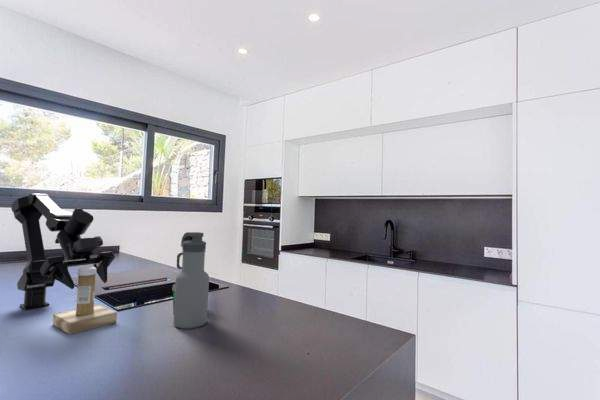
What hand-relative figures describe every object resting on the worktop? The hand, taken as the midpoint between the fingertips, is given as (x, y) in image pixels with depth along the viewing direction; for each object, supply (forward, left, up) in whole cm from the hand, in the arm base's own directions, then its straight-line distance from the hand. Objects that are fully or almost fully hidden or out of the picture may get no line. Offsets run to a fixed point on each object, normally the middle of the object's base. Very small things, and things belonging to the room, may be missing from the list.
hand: (90, 284), depth 92 cm
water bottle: (+23, +19, -12) cm, 32 cm away
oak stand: (-1, 0, -12) cm, 12 cm away
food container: (+12, +27, -12) cm, 32 cm away
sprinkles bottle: (-2, 0, -9) cm, 9 cm away
